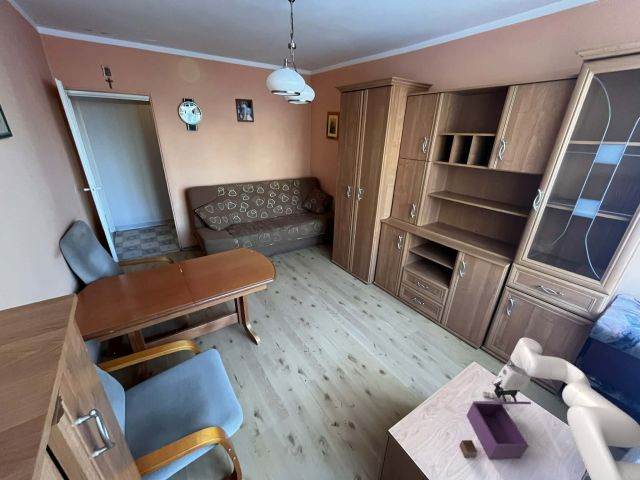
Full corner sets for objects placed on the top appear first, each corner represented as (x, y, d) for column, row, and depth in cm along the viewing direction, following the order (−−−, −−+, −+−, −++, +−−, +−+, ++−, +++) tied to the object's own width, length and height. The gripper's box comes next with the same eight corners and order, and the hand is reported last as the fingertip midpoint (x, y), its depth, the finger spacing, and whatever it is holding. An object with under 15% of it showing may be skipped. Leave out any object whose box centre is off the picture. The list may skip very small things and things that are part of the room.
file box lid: (531, 404, 107) (526, 390, 110) (498, 404, 107) (494, 390, 109) (501, 403, 123) (497, 390, 126) (473, 403, 123) (469, 390, 125)
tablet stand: (499, 397, 137) (505, 386, 133) (506, 412, 130) (513, 401, 126) (482, 393, 138) (487, 383, 134) (488, 408, 131) (493, 398, 127)
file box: (519, 458, 112) (529, 445, 108) (488, 459, 111) (496, 446, 107) (493, 415, 128) (500, 402, 124) (466, 415, 127) (472, 402, 123)
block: (474, 457, 112) (477, 451, 110) (464, 457, 111) (467, 452, 110) (468, 445, 116) (471, 440, 114) (459, 445, 115) (461, 440, 114)
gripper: (505, 373, 101) (489, 403, 109) (547, 374, 102) (529, 403, 110) (493, 357, 108) (479, 386, 116) (533, 357, 109) (516, 386, 117)
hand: (504, 394), depth 113 cm, fingers closed on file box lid, 5 cm apart
